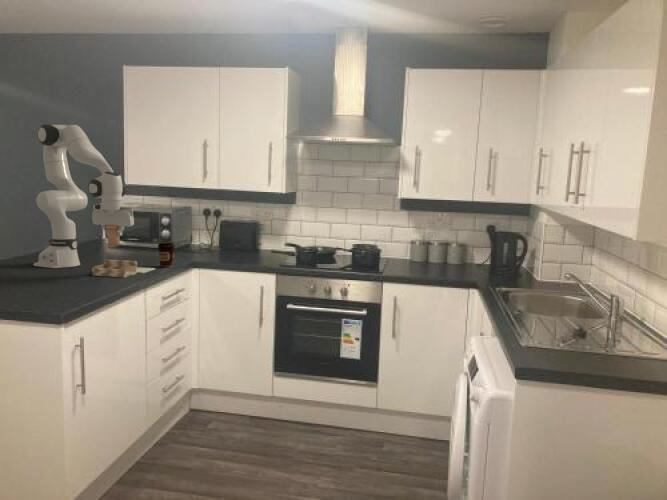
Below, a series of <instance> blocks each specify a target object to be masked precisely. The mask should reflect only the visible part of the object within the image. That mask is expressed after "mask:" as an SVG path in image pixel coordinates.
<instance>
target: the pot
mask: <svg viewBox="0 0 667 500" xmlns="http://www.w3.org/2000/svg"><path fill="white" fill-rule="evenodd" d="M106 228H107V246H110V247H111V246H113V247H115V246H120V244H121V242H120V241H121V240H120V236H119V235H118V232H119V231H120V228H119V226H110V225H106Z"/></svg>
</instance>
